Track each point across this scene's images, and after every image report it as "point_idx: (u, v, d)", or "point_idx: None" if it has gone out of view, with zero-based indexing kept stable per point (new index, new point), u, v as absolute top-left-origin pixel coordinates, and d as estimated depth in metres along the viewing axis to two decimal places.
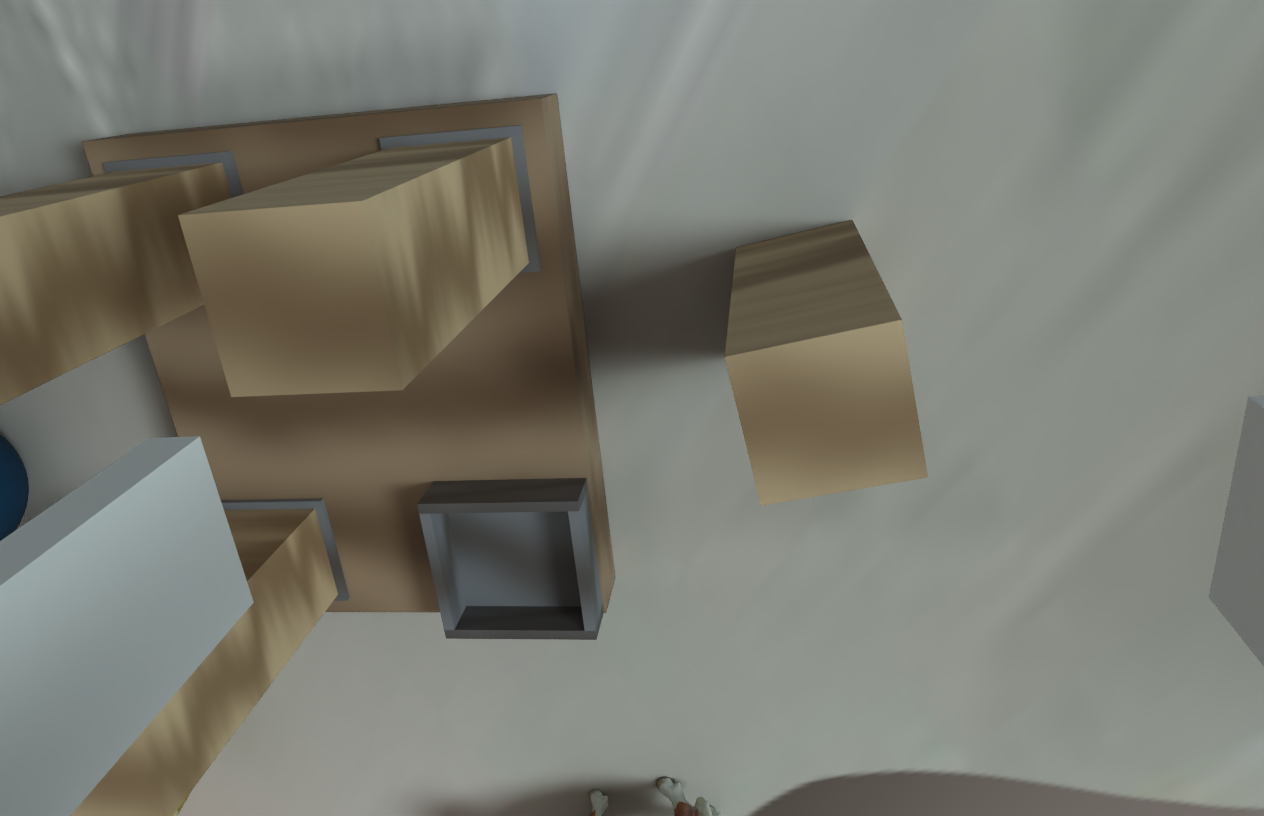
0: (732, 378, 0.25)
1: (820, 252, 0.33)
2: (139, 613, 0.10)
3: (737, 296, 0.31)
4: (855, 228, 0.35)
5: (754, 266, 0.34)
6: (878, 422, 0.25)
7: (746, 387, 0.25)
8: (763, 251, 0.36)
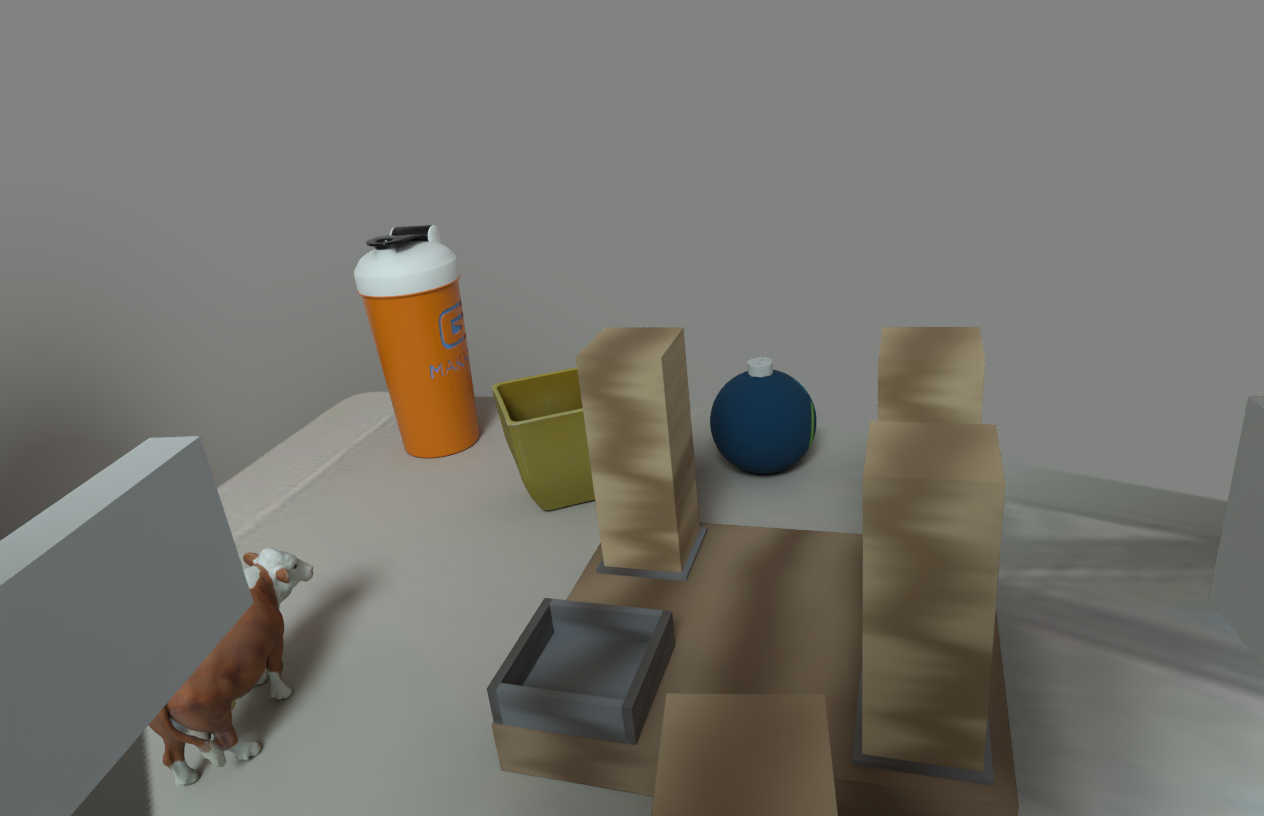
0: (802, 695, 0.27)
1: None
2: (139, 613, 0.10)
3: None
4: None
5: None
6: (728, 792, 0.24)
7: (790, 703, 0.27)
8: None
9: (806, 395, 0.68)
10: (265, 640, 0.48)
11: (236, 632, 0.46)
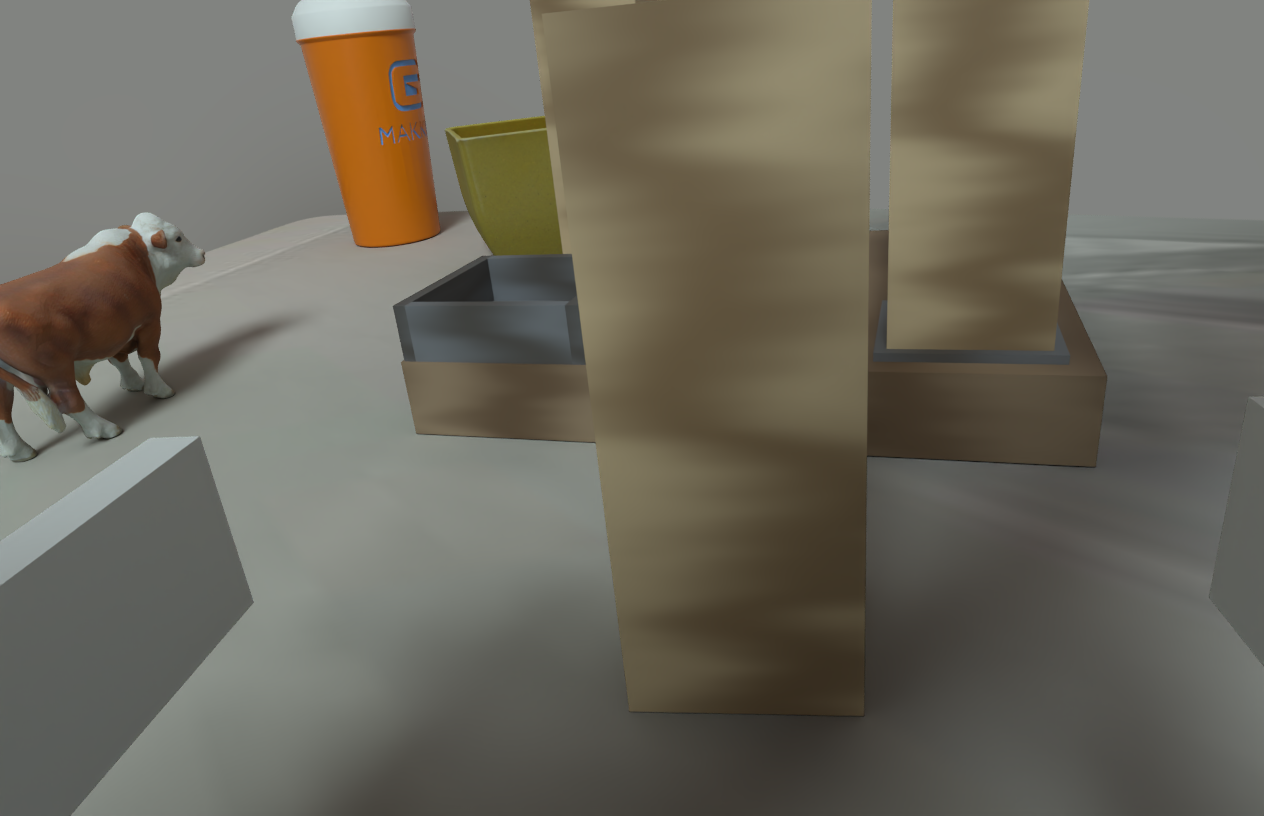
0: None
1: None
2: (139, 613, 0.10)
3: None
4: (864, 650, 0.18)
5: None
6: None
7: None
8: None
9: None
10: (128, 300, 0.38)
11: (86, 276, 0.37)
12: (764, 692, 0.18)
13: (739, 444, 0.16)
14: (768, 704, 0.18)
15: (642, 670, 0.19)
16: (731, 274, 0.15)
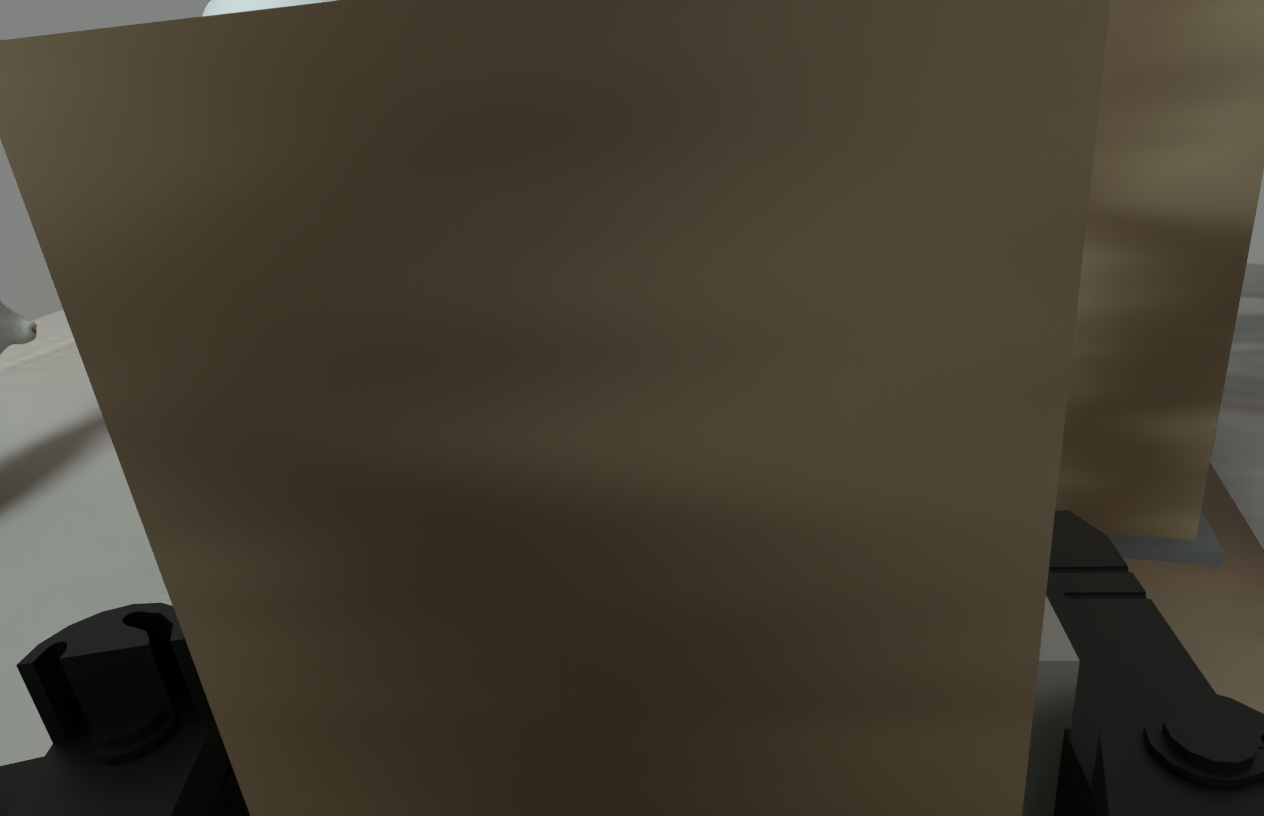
0: None
1: None
2: None
3: None
4: None
5: None
6: None
7: None
8: None
9: None
10: None
11: None
12: None
13: None
14: None
15: None
16: (633, 763, 0.05)
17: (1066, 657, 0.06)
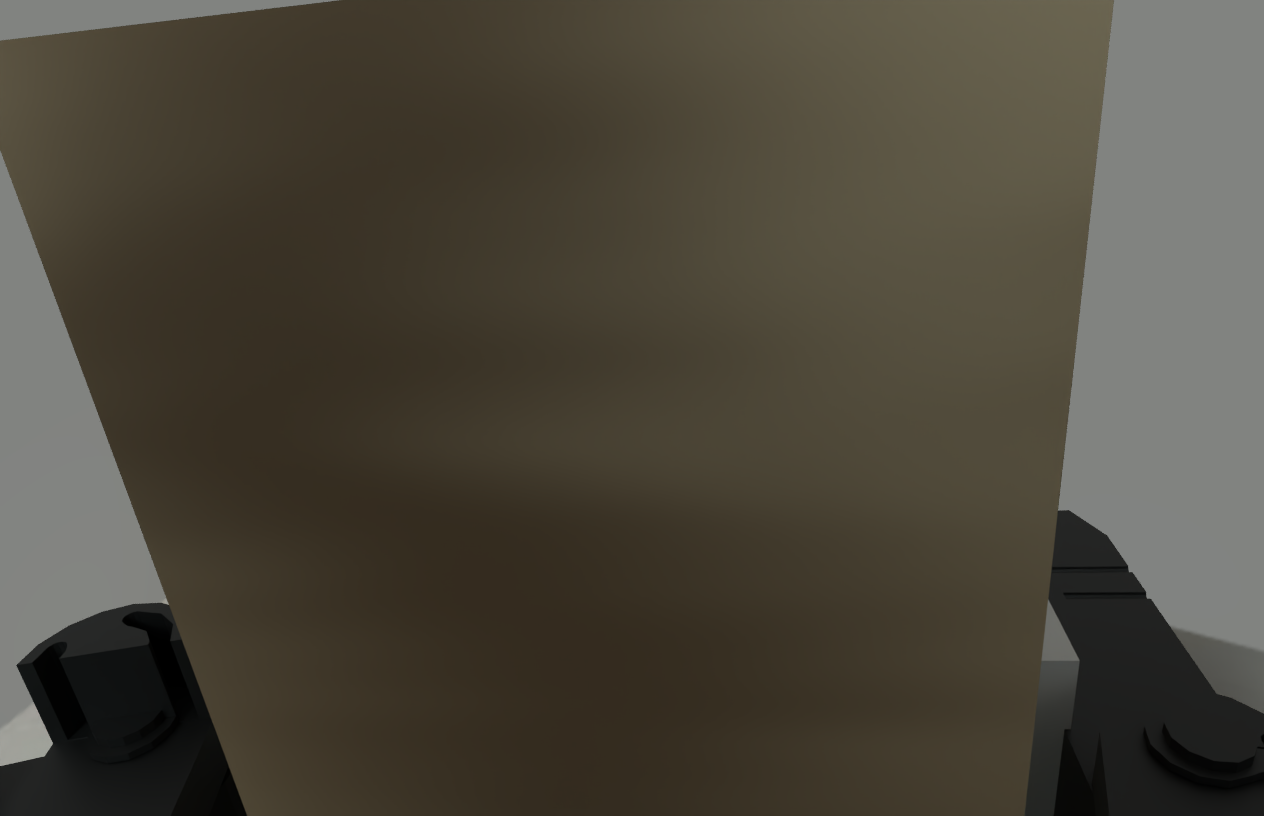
0: None
1: None
2: None
3: None
4: None
5: None
6: None
7: None
8: None
9: None
10: None
11: None
12: None
13: None
14: None
15: None
16: (633, 766, 0.05)
17: (1066, 657, 0.06)
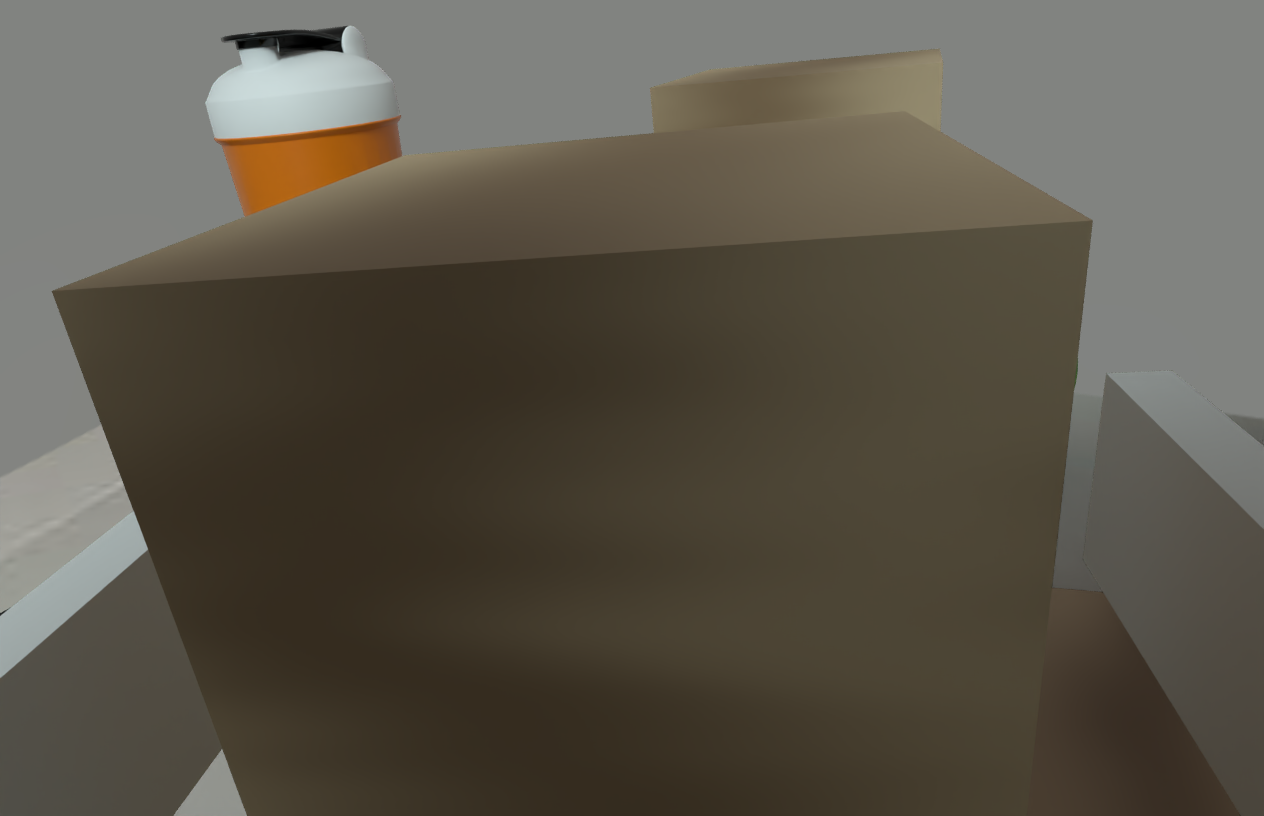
0: None
1: None
2: None
3: None
4: None
5: None
6: (496, 218, 0.05)
7: (793, 125, 0.08)
8: None
9: None
10: None
11: None
12: None
13: None
14: None
15: None
16: None
17: None
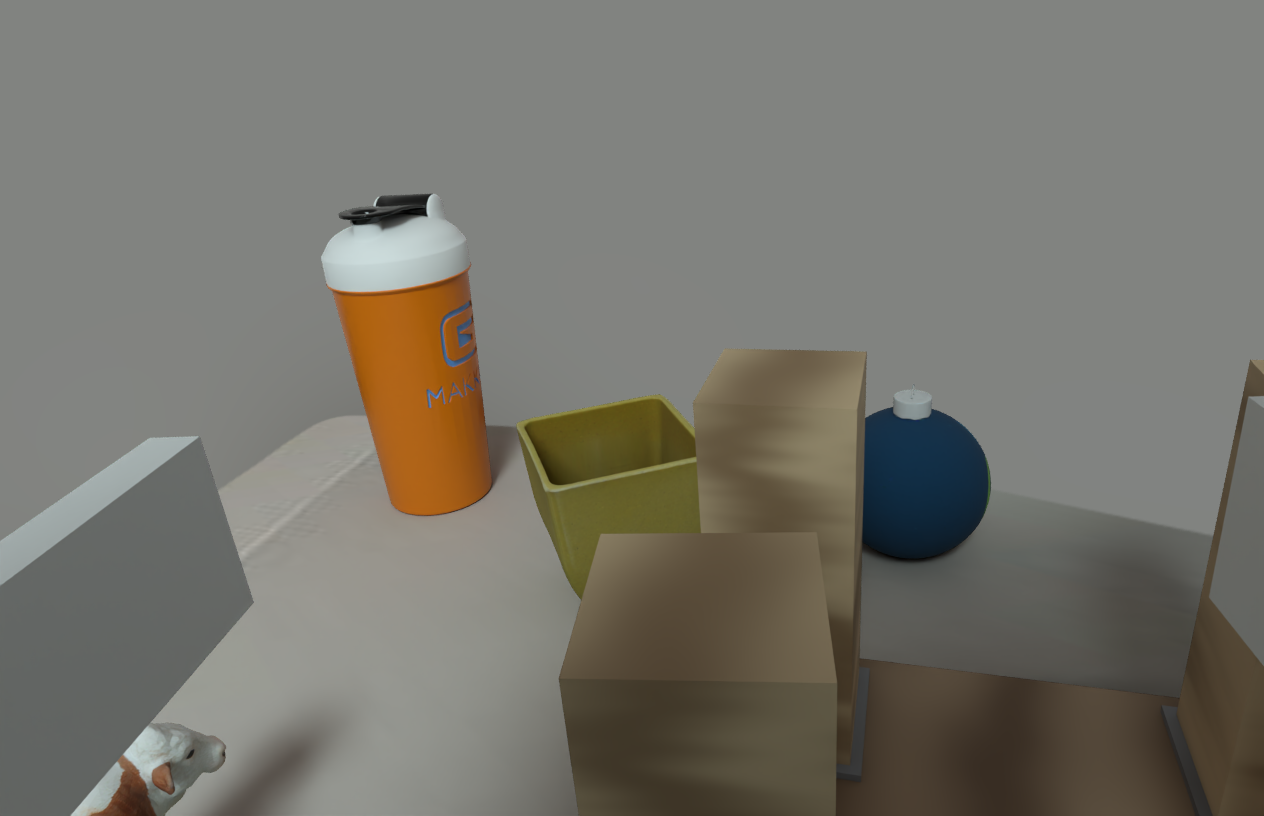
0: (786, 533, 0.20)
1: None
2: (139, 613, 0.10)
3: None
4: None
5: None
6: (675, 641, 0.17)
7: (770, 542, 0.20)
8: None
9: (979, 447, 0.46)
10: None
11: None
12: None
13: None
14: None
15: None
16: None
17: None
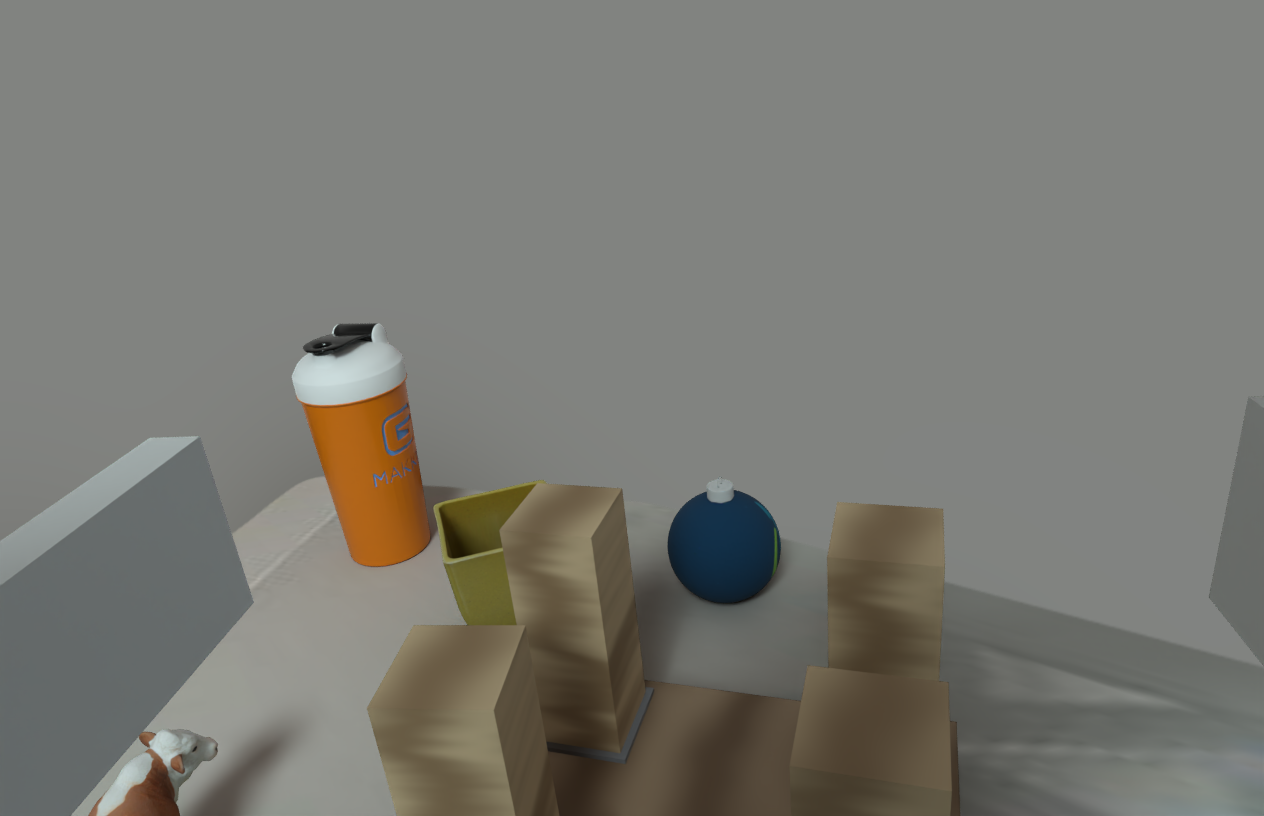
0: (509, 626, 0.37)
1: None
2: (139, 613, 0.10)
3: (543, 739, 0.39)
4: None
5: (552, 812, 0.40)
6: (428, 688, 0.34)
7: (499, 631, 0.37)
8: None
9: (769, 521, 0.63)
10: None
11: None
12: None
13: None
14: None
15: None
16: (455, 794, 0.34)
17: None
